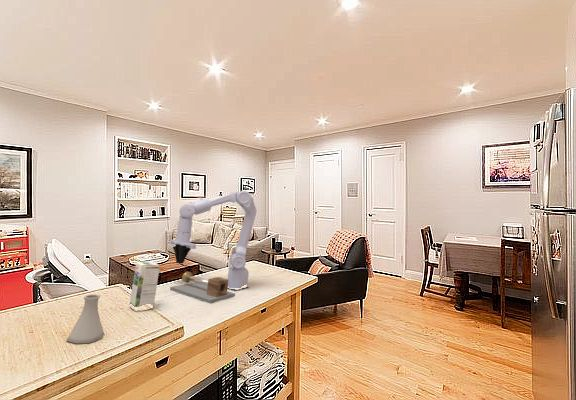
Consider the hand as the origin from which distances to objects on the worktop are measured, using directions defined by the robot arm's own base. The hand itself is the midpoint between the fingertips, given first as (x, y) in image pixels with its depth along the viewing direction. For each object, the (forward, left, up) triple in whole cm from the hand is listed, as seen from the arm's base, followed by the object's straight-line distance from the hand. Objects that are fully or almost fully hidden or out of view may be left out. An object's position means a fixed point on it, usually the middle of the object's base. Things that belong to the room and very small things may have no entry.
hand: (179, 263), depth 124 cm
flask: (+48, +26, -10) cm, 55 cm away
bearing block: (0, +23, -8) cm, 24 cm away
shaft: (0, +13, -7) cm, 15 cm away
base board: (0, +16, -9) cm, 18 cm away
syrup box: (+27, +16, -10) cm, 33 cm away
